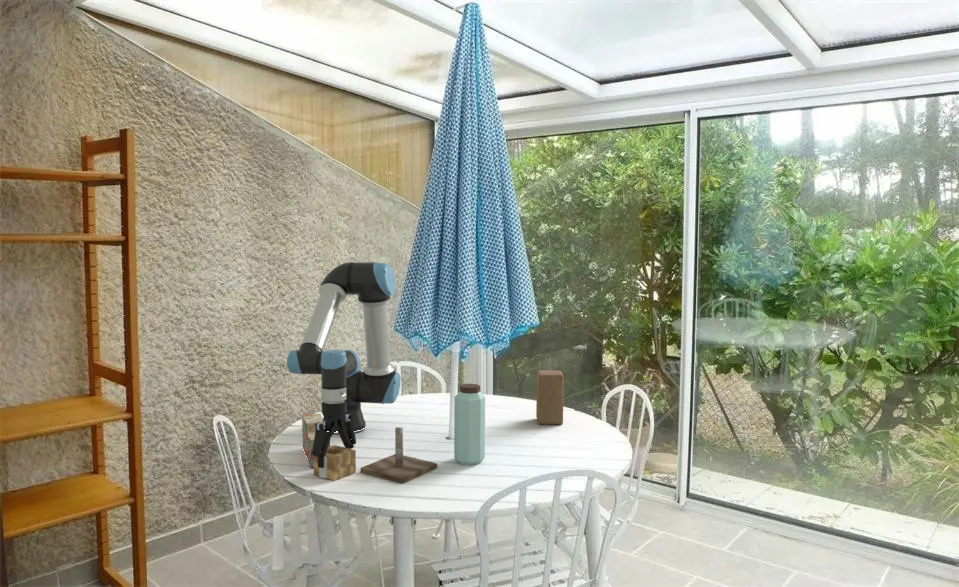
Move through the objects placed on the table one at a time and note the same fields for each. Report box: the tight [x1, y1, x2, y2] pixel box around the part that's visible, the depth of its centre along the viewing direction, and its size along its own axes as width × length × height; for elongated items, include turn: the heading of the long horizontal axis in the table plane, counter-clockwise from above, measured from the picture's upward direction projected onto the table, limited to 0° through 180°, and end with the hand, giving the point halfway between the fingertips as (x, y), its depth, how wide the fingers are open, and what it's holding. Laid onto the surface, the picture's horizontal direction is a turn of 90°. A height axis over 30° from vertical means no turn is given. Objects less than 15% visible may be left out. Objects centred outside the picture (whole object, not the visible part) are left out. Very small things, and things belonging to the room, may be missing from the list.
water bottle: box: [453, 383, 486, 466], centre depth 223 cm, size 10×10×25 cm
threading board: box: [359, 426, 438, 485], centre depth 214 cm, size 17×17×14 cm
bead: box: [313, 444, 357, 482], centre depth 210 cm, size 9×9×7 cm
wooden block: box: [535, 369, 565, 426], centre depth 272 cm, size 10×10×20 cm
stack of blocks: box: [301, 412, 331, 468], centre depth 226 cm, size 21×6×12 cm, turn 21°
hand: (335, 472), depth 210 cm, fingers closed on bead, 9 cm apart
